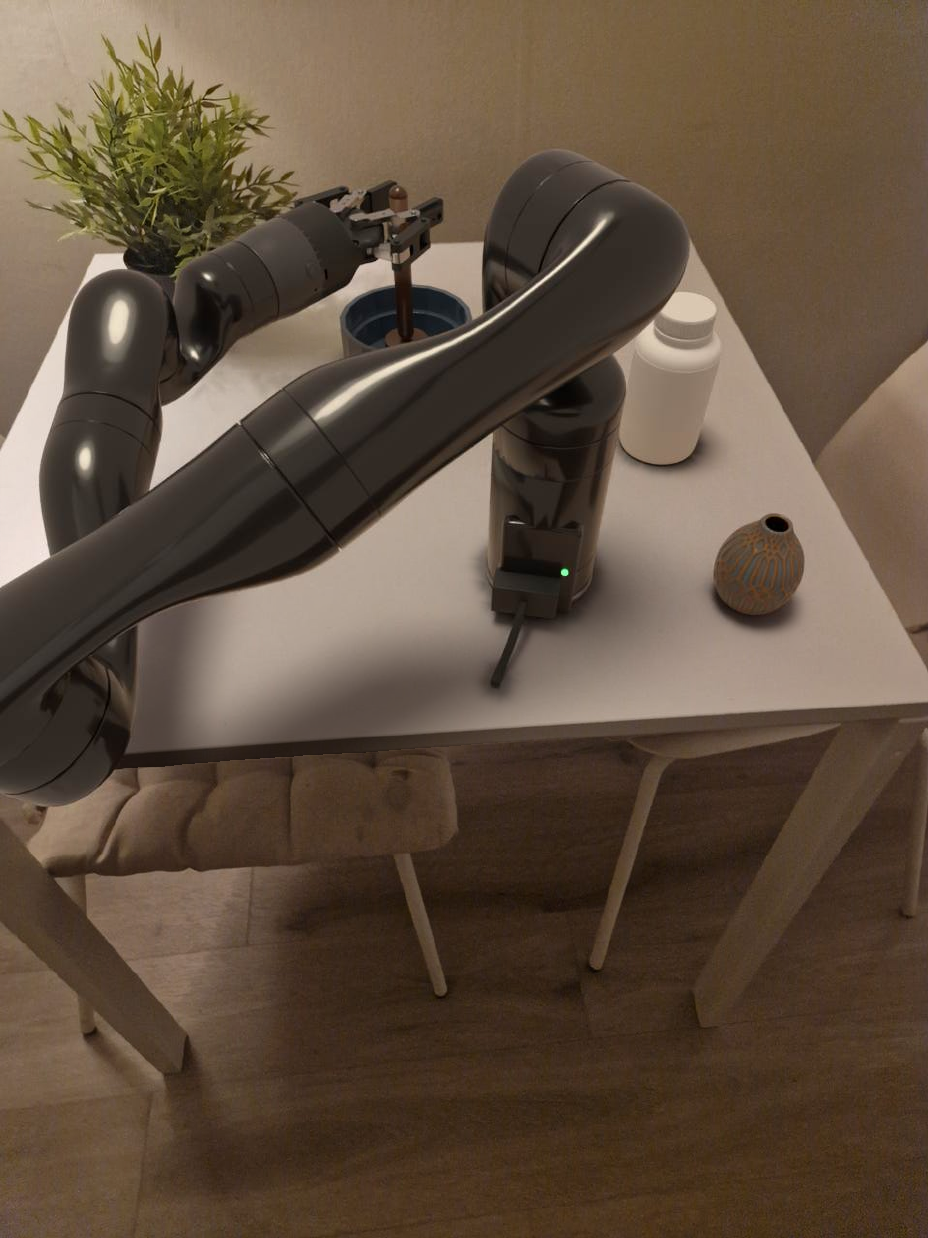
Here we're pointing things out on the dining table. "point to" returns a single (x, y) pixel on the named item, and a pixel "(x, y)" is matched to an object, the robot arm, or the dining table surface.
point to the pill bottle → (671, 381)
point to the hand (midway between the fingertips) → (417, 199)
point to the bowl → (377, 316)
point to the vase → (759, 566)
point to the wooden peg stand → (402, 284)
